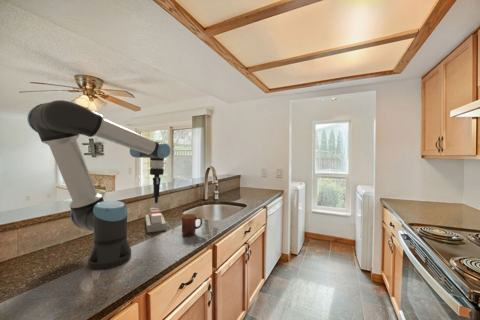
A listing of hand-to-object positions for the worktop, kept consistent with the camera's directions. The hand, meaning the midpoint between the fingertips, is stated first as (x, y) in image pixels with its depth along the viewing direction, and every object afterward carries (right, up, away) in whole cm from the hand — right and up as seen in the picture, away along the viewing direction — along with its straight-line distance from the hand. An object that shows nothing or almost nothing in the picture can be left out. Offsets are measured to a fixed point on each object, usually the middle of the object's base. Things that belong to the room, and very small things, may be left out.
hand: (155, 207), depth 119 cm
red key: (-3, -8, +7) cm, 11 cm away
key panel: (-3, -13, +7) cm, 15 cm away
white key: (0, -9, 0) cm, 9 cm away
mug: (+23, -13, -7) cm, 27 cm away
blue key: (-7, -8, +14) cm, 17 cm away
